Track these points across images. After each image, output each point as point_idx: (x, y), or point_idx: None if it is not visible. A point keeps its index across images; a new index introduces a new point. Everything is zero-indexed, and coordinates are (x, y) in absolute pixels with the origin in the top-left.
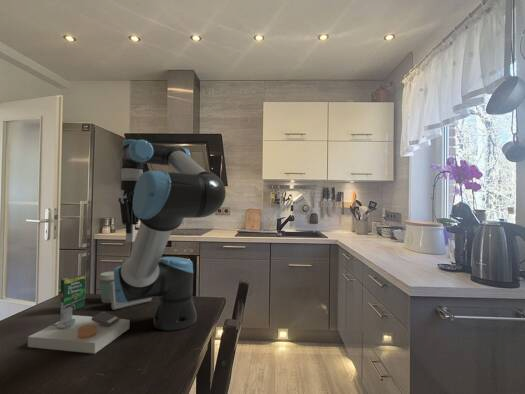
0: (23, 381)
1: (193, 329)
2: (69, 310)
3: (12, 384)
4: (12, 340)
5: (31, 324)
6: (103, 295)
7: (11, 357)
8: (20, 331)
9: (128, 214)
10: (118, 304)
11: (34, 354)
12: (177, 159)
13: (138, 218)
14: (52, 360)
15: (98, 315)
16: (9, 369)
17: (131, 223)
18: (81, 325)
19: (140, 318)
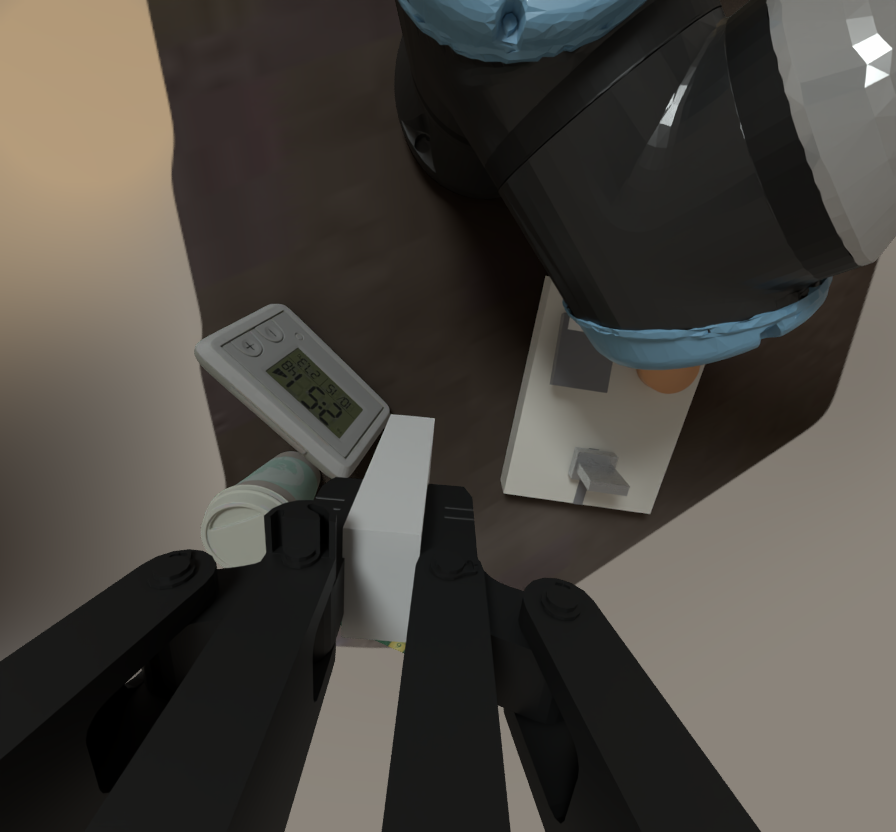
0: (806, 399)
1: None
2: (600, 479)
3: (812, 413)
4: (596, 555)
5: (502, 577)
6: (314, 496)
7: (686, 498)
8: (545, 573)
9: (699, 824)
10: (376, 403)
11: (681, 458)
12: None
13: (99, 619)
14: (722, 395)
15: (586, 382)
16: (743, 464)
17: (464, 564)
18: (590, 419)
19: (457, 273)
